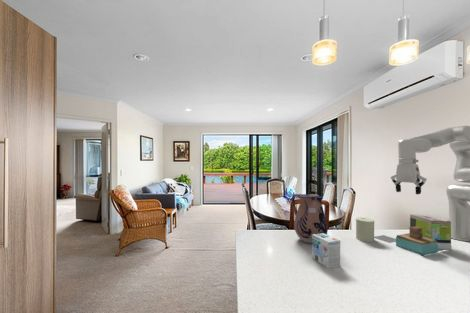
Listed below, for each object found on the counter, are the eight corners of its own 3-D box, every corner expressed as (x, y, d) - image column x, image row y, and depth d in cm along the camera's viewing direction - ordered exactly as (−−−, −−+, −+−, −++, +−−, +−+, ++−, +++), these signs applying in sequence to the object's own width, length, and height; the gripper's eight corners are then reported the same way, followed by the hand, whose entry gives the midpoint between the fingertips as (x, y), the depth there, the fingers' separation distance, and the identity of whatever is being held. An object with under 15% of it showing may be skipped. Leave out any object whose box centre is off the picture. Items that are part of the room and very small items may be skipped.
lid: (410, 234, 120) (410, 223, 121) (436, 242, 110) (436, 229, 110) (396, 237, 116) (396, 225, 116) (422, 244, 105) (421, 232, 106)
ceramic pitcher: (320, 249, 111) (320, 199, 112) (282, 239, 125) (283, 194, 126) (332, 240, 124) (332, 195, 125) (296, 232, 138) (296, 191, 139)
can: (370, 237, 130) (370, 217, 130) (377, 243, 121) (377, 221, 121) (353, 236, 131) (353, 216, 132) (359, 242, 122) (359, 220, 122)
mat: (383, 236, 133) (383, 235, 133) (401, 241, 124) (401, 240, 124) (372, 238, 130) (372, 237, 130) (389, 243, 120) (389, 242, 120)
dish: (410, 244, 121) (410, 234, 121) (437, 252, 109) (437, 242, 110) (396, 246, 116) (395, 237, 116) (422, 255, 105) (422, 245, 105)
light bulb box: (311, 257, 101) (311, 233, 102) (323, 256, 104) (323, 232, 104) (328, 268, 91) (328, 241, 92) (341, 266, 93) (341, 240, 94)
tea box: (452, 250, 113) (451, 220, 113) (432, 249, 113) (431, 220, 113) (427, 240, 128) (427, 213, 128) (409, 239, 128) (409, 213, 128)
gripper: (429, 161, 117) (430, 194, 117) (394, 161, 133) (395, 190, 133) (421, 161, 114) (422, 195, 114) (386, 162, 130) (387, 191, 130)
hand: (408, 192), depth 123 cm, fingers open, 9 cm apart
